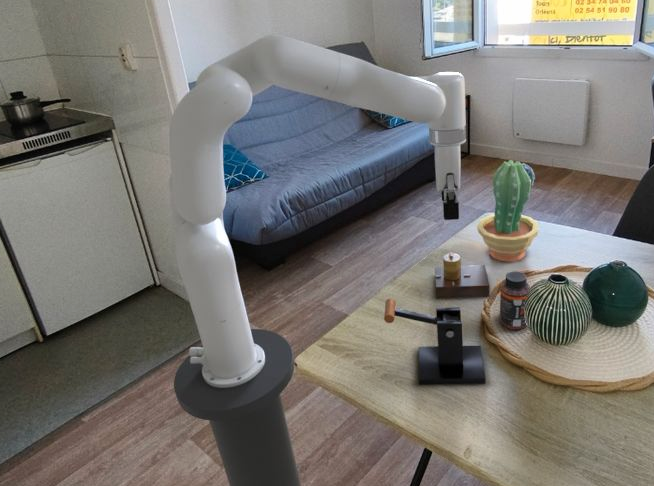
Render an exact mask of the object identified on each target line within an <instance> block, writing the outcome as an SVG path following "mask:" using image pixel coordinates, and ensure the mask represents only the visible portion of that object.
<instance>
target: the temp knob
mask: <svg viewBox="0 0 654 486" xmlns="http://www.w3.org/2000/svg"><path fill="white" fill-rule="evenodd" d="M461 261H462V258H461V256H460V255H459V254H458V253H453V252H451V251H450V252H449V253H446V254H444V255H443V257H442V264H443V266H442V267H444V277H445V278H446V279H447V280H457V279H459V278H460V277H461V266H462V262H461Z"/></svg>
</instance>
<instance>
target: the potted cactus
mask: <svg viewBox="0 0 654 486" xmlns="http://www.w3.org/2000/svg"><path fill="white" fill-rule="evenodd" d="M535 174H536V173H535V172H534V170H533V168H532V167H531V166H529V164H526V163H524V162H523V163H521V162H520V160H517V161H515V162H514V160H512V159H509V160H508V161H506V160H505V161H503V162H502V163H501V165H500V166H499V167H498V168H497V169H496V170H495V171H494V174H493V175H492V188H493V189H492V192H493V197H494V199H495V205H494V206H495V207H494V213H493V214H489V215H486V216H485V217H483V218H481V219H479V220H478V222H477V223H478V224H477V225H476V230H477V232H478V234H479V235H480V236H481V237H482V239H483V243H484V244H485V245H486V246H487V247H488V249H489V250H490V251H489V255H490V256H491V257H492V259H495V260H498V261H500V262H509V263H510V262H511V263H512V262H516V261H520V260H521V259H523V258H524V257H525V254H526V251H527V249H528V248H529V247H530V246H531V244H532V242H533V240H534V238H536V237H537V236H538V233H539V227H540V226H539V223H538V222H537V220H535V219H534V218H532V217H531V216H527V215H525V214H523V211H524V208H525V206H526V204H527V201H528V200H529V198H530V196H531V188H532V186H534V182H535V180H536V176H535Z"/></svg>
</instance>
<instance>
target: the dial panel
mask: <svg viewBox="0 0 654 486" xmlns="http://www.w3.org/2000/svg"><path fill="white" fill-rule="evenodd" d="M434 278H435V295H436V299H452V298H482V297H490V282H489V277H488V274H487V269H486V265H485V264H476V265H475V264H473V265H471V264H470V265H461V277H460V278H459V279H457V280H447V279H446V278H445V277H444V267H443V266H434Z"/></svg>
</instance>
